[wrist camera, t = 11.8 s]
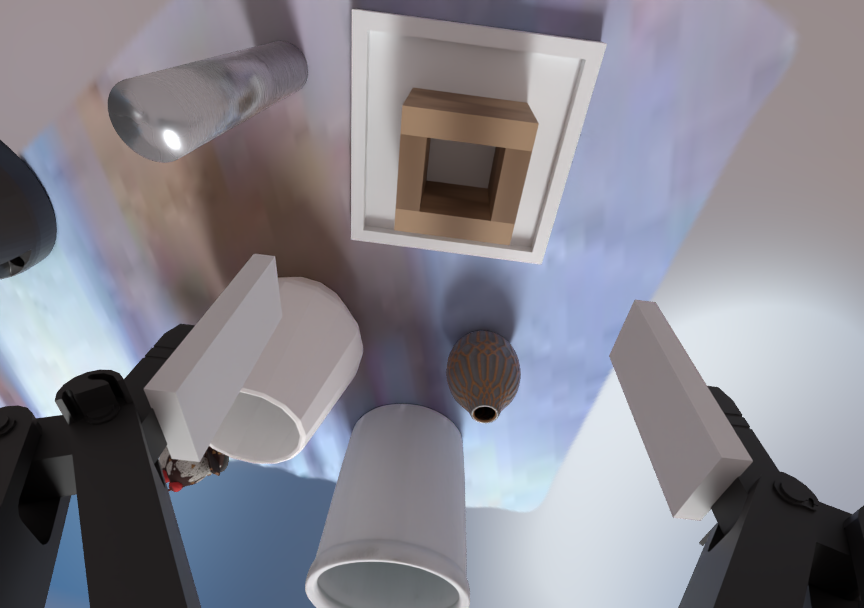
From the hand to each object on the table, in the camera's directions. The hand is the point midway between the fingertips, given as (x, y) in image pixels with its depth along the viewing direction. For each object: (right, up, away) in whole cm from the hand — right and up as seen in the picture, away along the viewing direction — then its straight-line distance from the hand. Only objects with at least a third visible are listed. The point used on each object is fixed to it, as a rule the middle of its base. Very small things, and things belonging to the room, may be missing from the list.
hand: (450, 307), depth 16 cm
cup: (-13, -1, +27) cm, 30 cm away
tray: (+1, +12, +17) cm, 21 cm away
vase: (+4, -4, +28) cm, 29 cm away
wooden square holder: (+1, +11, +16) cm, 20 cm away
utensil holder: (-4, -16, +37) cm, 41 cm away
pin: (-11, +17, +14) cm, 25 cm away
